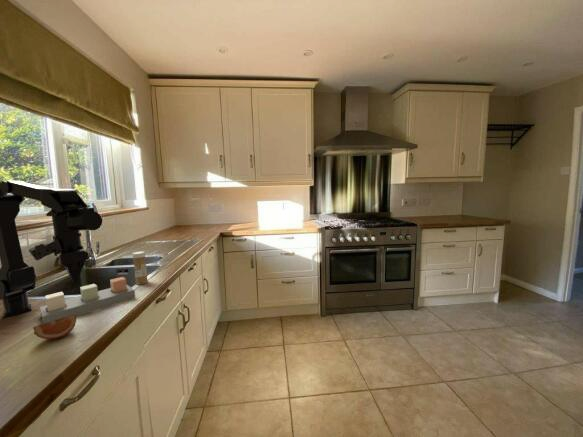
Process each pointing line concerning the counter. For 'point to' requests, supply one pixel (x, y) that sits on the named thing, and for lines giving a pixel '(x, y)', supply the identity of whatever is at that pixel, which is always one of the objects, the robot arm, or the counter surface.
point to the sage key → (89, 292)
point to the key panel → (86, 304)
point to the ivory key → (55, 301)
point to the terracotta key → (118, 284)
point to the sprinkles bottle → (140, 267)
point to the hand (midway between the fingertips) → (74, 279)
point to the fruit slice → (56, 328)
